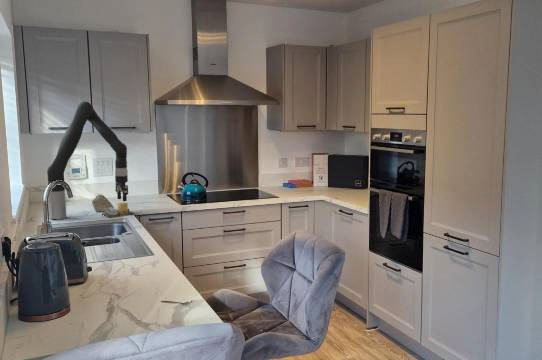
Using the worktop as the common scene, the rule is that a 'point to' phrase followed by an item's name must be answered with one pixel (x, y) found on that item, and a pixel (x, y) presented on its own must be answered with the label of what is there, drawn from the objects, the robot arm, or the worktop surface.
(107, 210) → the keeper
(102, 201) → the fossil tooth
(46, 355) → the worktop surface
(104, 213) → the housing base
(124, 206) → the jaw block
